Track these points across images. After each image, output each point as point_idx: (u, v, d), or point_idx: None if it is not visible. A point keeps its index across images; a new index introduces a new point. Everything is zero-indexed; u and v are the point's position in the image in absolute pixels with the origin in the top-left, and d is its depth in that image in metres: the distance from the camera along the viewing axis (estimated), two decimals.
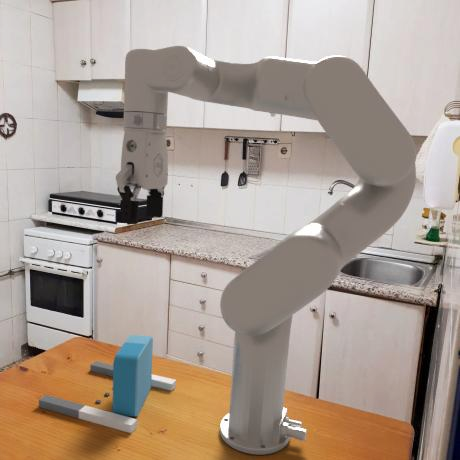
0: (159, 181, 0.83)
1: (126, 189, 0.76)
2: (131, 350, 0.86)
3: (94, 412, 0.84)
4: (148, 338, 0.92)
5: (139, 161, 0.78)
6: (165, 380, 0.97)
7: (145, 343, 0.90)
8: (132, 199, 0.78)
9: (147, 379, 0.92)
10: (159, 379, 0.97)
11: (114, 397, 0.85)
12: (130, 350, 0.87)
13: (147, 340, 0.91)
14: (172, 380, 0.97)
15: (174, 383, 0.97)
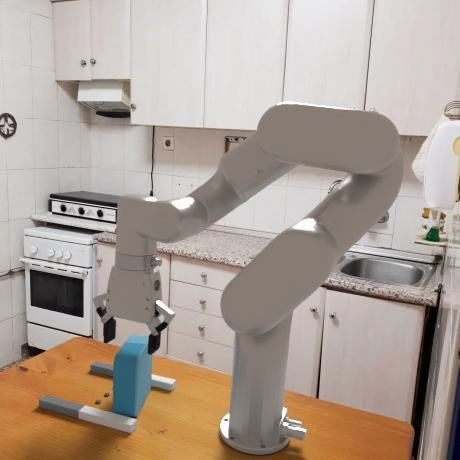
0: None
1: (169, 323, 0.87)
2: (131, 350, 0.86)
3: (94, 412, 0.84)
4: None
5: (161, 295, 0.87)
6: (165, 380, 0.97)
7: (145, 343, 0.90)
8: None
9: (147, 379, 0.92)
10: (159, 379, 0.97)
11: (114, 397, 0.85)
12: (130, 350, 0.87)
13: (147, 340, 0.91)
14: (172, 380, 0.97)
15: (174, 383, 0.97)
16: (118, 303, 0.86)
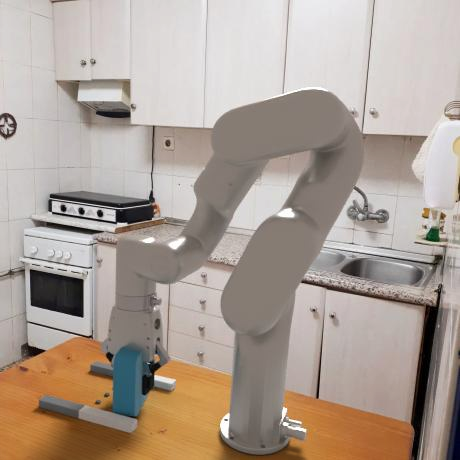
0: None
1: None
2: (131, 350, 0.86)
3: (94, 412, 0.84)
4: None
5: (162, 333, 0.89)
6: (165, 380, 0.97)
7: None
8: None
9: None
10: (159, 379, 0.97)
11: (114, 397, 0.85)
12: (130, 350, 0.87)
13: None
14: (172, 380, 0.97)
15: (174, 383, 0.97)
16: (119, 342, 0.87)
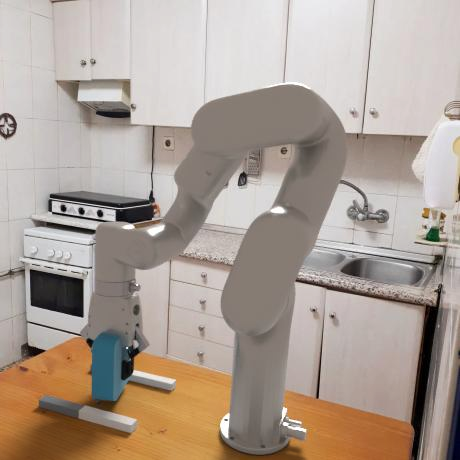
0: None
1: None
2: None
3: (94, 412, 0.84)
4: None
5: (141, 319, 0.90)
6: (165, 380, 0.97)
7: None
8: None
9: None
10: (159, 379, 0.97)
11: (93, 381, 0.86)
12: (110, 335, 0.88)
13: None
14: (172, 380, 0.97)
15: (174, 383, 0.97)
16: (99, 328, 0.88)
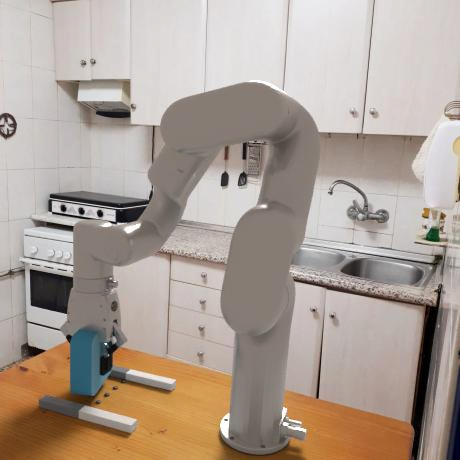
0: None
1: None
2: (89, 331, 0.89)
3: (94, 412, 0.84)
4: None
5: (119, 315, 0.91)
6: (165, 380, 0.97)
7: None
8: (114, 351, 0.92)
9: None
10: (159, 379, 0.97)
11: (71, 376, 0.87)
12: (88, 331, 0.89)
13: None
14: (172, 380, 0.97)
15: (174, 383, 0.97)
16: (78, 324, 0.90)
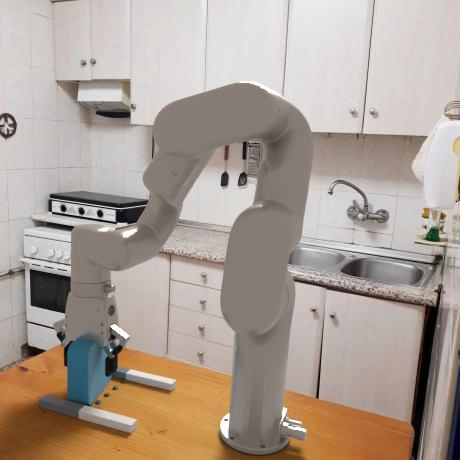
0: None
1: (125, 346, 0.91)
2: (87, 340, 0.90)
3: (94, 412, 0.84)
4: None
5: (117, 319, 0.92)
6: (165, 380, 0.97)
7: None
8: (119, 352, 0.92)
9: None
10: (159, 379, 0.97)
11: (68, 385, 0.88)
12: (86, 340, 0.90)
13: None
14: (172, 380, 0.97)
15: (174, 383, 0.97)
16: (75, 328, 0.90)
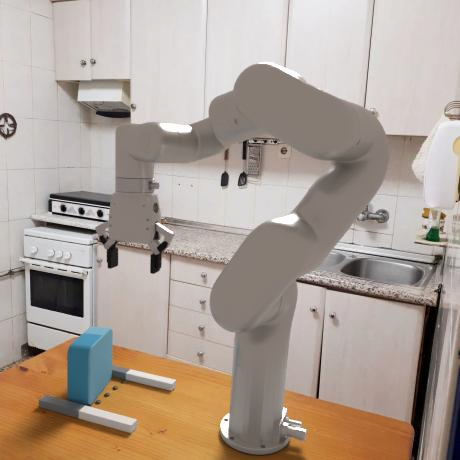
0: None
1: None
2: (86, 340, 0.90)
3: (94, 412, 0.84)
4: (107, 330, 0.95)
5: (160, 219, 0.94)
6: (165, 380, 0.97)
7: (102, 334, 0.93)
8: (163, 250, 0.94)
9: (105, 369, 0.95)
10: (159, 379, 0.97)
11: (68, 385, 0.88)
12: (86, 340, 0.90)
13: (105, 331, 0.94)
14: (172, 380, 0.97)
15: (174, 383, 0.97)
16: (120, 227, 0.92)
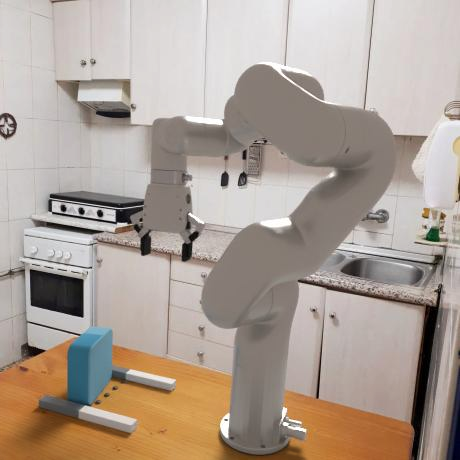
0: None
1: None
2: (87, 340, 0.90)
3: (94, 412, 0.84)
4: (107, 330, 0.95)
5: (191, 210, 0.98)
6: (165, 380, 0.97)
7: (102, 334, 0.93)
8: (194, 240, 0.98)
9: (105, 369, 0.95)
10: (159, 379, 0.97)
11: (68, 385, 0.88)
12: (86, 340, 0.90)
13: (105, 331, 0.94)
14: (172, 380, 0.97)
15: (174, 383, 0.97)
16: (154, 216, 0.97)
